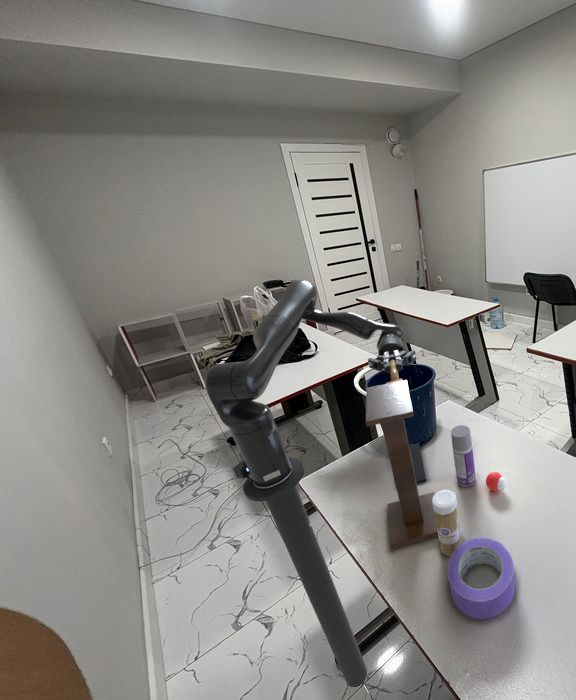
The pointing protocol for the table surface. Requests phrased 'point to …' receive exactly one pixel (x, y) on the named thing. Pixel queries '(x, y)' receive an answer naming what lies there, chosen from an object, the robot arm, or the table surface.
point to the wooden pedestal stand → (401, 466)
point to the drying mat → (417, 462)
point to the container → (463, 455)
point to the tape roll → (487, 599)
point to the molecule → (495, 481)
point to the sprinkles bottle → (447, 521)
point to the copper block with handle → (394, 372)
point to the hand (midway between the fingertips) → (393, 369)
